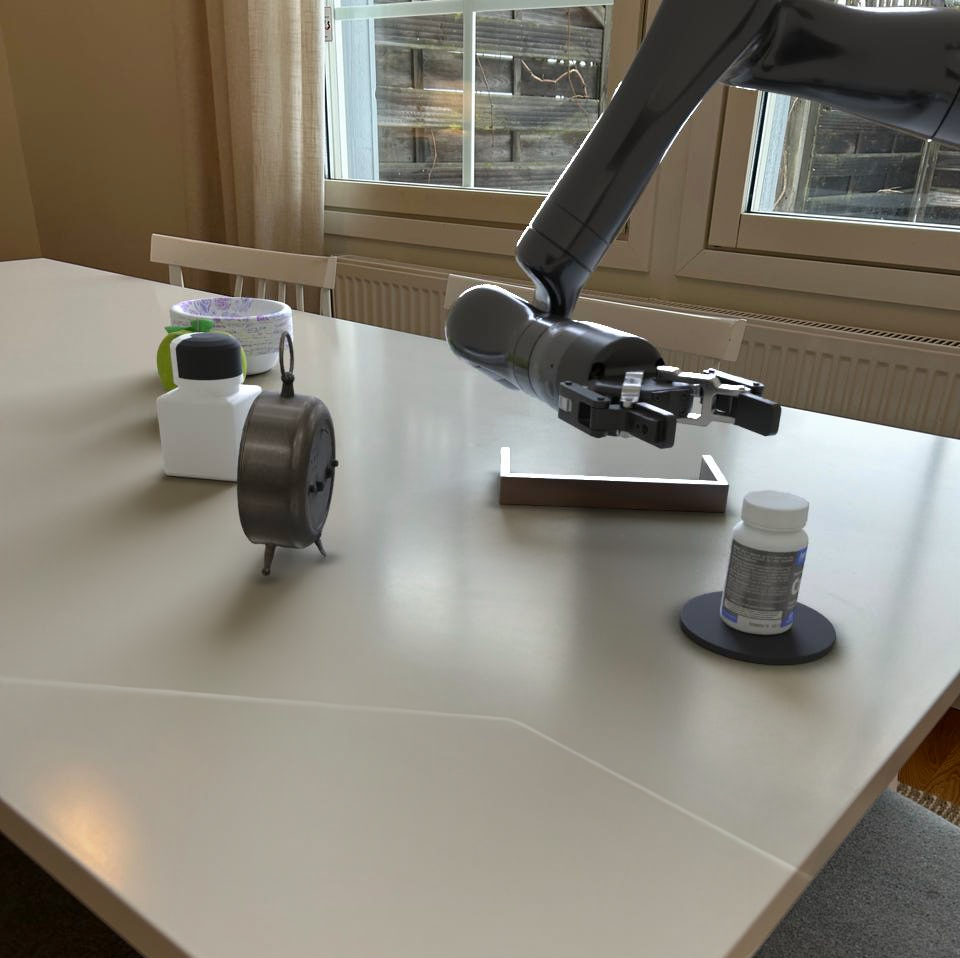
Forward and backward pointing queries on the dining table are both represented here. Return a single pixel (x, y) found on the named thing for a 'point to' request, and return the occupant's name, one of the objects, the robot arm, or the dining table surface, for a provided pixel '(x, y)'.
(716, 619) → the coaster
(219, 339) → the medicine bottle
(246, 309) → the white round bowl
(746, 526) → the pill bottle
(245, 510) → the alarm clock
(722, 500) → the bracket
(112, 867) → the dining table surface
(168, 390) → the fruit
